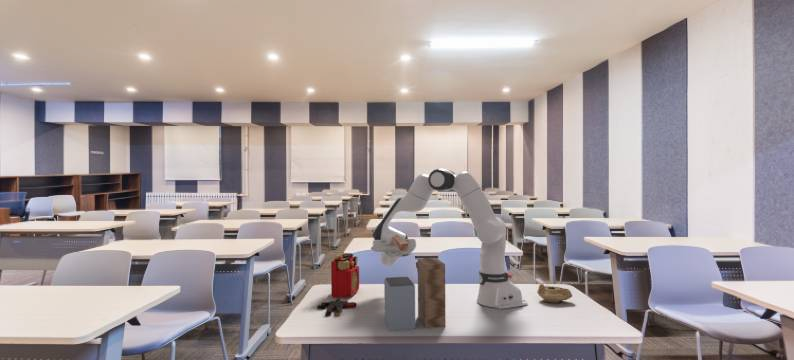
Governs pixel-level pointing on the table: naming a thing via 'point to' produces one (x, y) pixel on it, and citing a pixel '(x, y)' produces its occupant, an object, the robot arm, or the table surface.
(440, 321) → the post
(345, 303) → the toy
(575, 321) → the table surface
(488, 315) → the table surface
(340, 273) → the radio
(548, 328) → the table surface
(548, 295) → the oil lamp
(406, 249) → the bar
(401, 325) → the dock
